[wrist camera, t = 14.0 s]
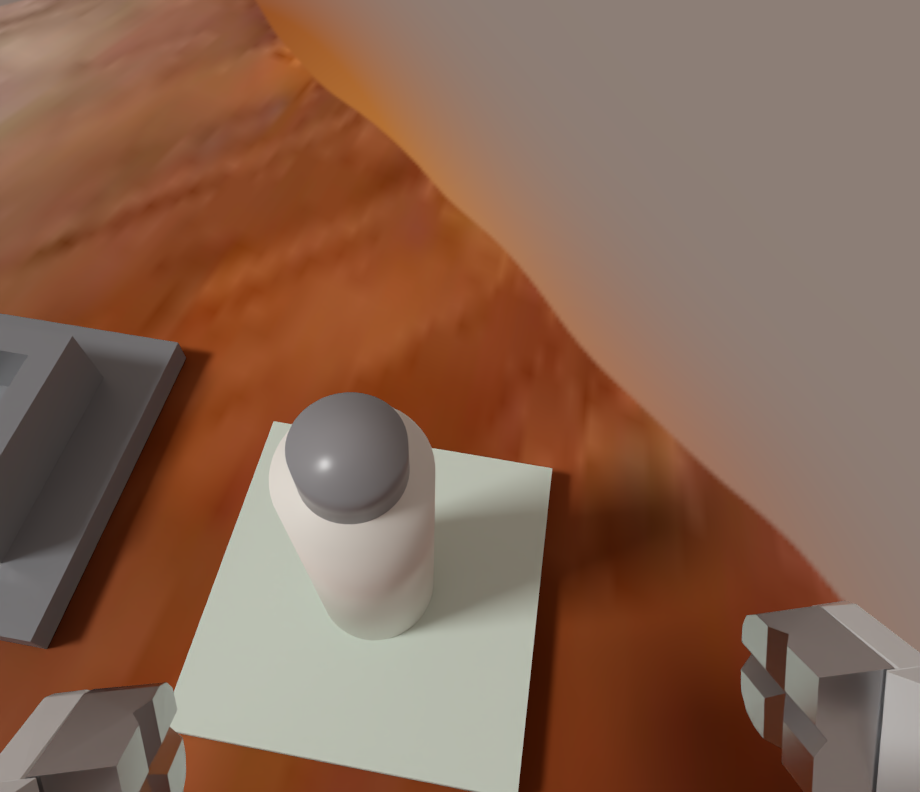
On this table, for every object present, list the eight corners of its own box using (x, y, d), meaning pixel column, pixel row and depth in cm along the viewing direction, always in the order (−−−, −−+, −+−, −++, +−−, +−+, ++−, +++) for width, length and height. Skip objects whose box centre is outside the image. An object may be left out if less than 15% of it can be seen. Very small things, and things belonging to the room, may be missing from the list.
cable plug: (421, 650, 20) (415, 543, 12) (307, 628, 20) (229, 510, 12) (442, 539, 22) (449, 385, 14) (337, 520, 22) (287, 358, 14)
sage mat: (514, 799, 19) (517, 799, 18) (170, 731, 19) (160, 728, 19) (548, 478, 24) (552, 468, 23) (278, 431, 24) (273, 421, 24)
